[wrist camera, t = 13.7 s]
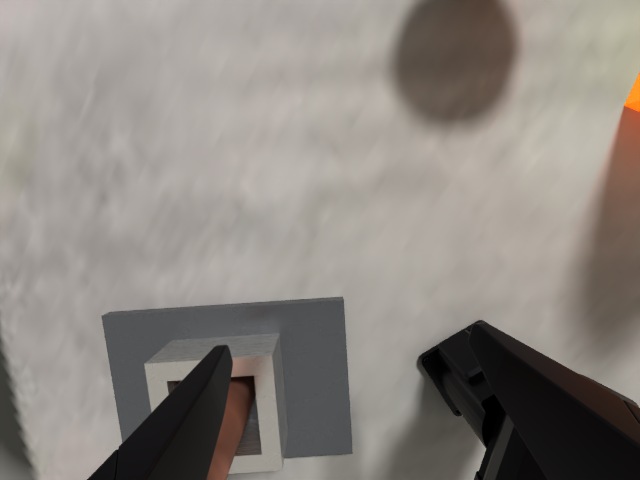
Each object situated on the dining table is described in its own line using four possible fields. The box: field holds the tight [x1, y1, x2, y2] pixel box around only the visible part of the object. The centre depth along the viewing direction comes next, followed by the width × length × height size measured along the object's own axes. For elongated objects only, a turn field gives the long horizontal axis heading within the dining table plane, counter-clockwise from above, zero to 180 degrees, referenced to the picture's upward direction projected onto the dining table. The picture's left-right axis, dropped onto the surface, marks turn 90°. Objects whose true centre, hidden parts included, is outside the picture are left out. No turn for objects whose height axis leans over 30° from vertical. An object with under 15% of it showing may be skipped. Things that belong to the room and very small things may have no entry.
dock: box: [102, 297, 353, 474], centre depth 19 cm, size 20×14×4 cm
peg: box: [207, 376, 256, 480], centre depth 14 cm, size 4×4×13 cm
